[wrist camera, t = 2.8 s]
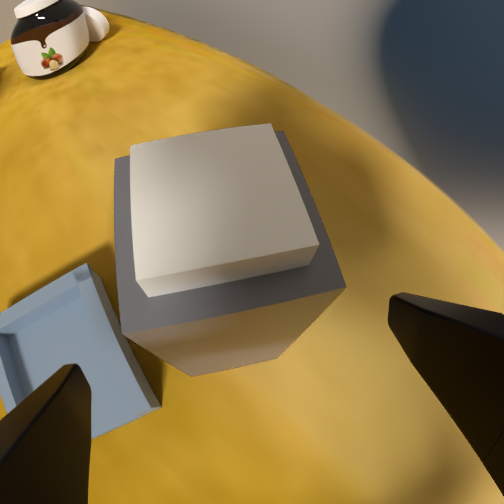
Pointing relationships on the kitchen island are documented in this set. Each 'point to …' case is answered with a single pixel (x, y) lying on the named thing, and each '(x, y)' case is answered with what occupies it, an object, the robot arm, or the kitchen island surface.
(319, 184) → the kitchen island surface
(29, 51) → the spread jar
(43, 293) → the holder
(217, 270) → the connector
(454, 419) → the robot arm
